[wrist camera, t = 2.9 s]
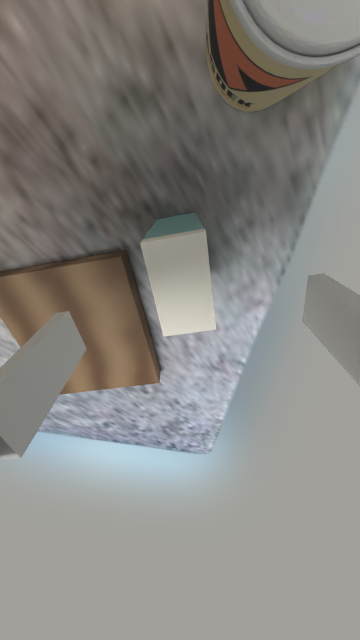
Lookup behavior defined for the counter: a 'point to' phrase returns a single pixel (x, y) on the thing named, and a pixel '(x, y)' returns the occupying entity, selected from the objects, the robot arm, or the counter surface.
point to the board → (86, 317)
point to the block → (180, 274)
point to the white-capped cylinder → (276, 46)
